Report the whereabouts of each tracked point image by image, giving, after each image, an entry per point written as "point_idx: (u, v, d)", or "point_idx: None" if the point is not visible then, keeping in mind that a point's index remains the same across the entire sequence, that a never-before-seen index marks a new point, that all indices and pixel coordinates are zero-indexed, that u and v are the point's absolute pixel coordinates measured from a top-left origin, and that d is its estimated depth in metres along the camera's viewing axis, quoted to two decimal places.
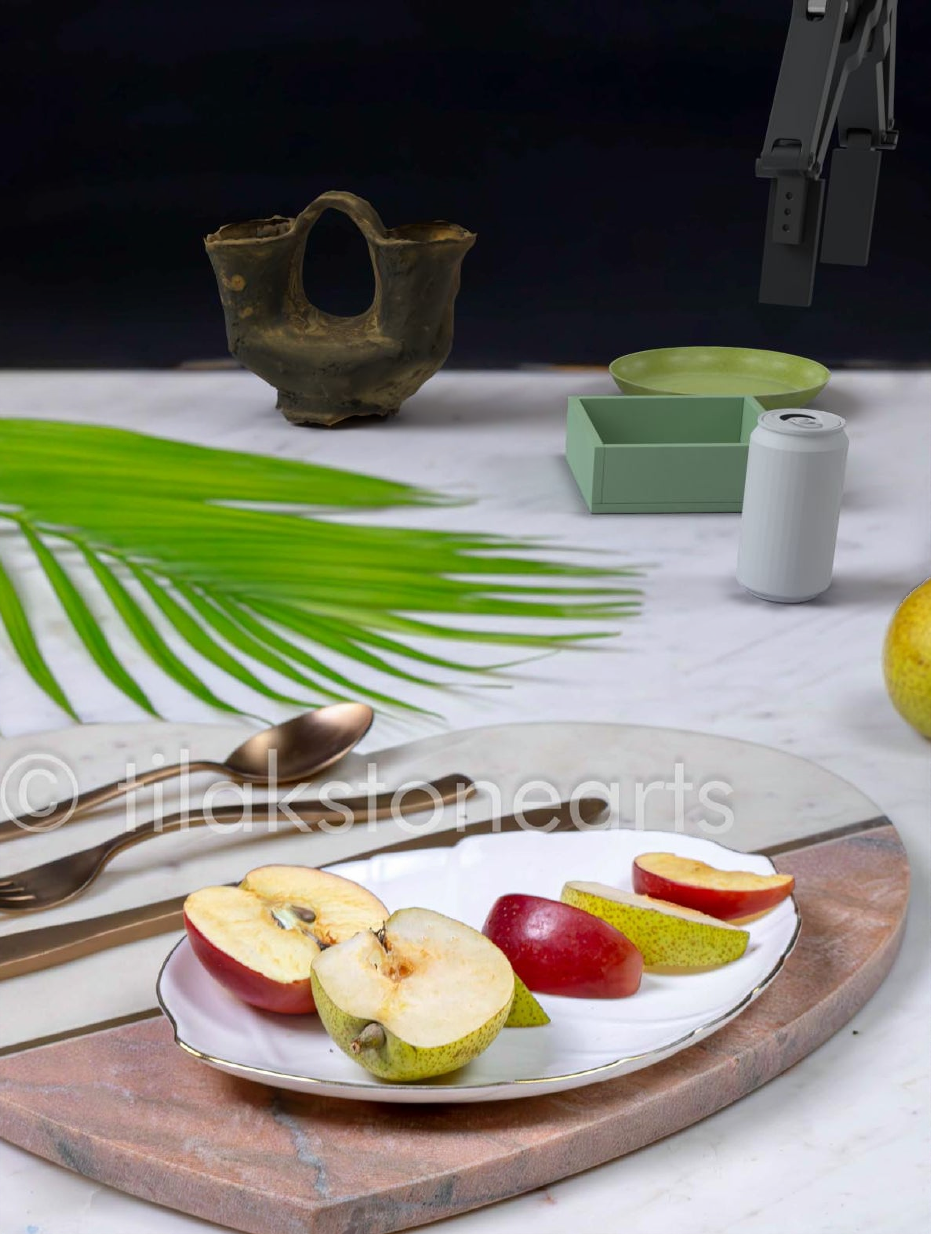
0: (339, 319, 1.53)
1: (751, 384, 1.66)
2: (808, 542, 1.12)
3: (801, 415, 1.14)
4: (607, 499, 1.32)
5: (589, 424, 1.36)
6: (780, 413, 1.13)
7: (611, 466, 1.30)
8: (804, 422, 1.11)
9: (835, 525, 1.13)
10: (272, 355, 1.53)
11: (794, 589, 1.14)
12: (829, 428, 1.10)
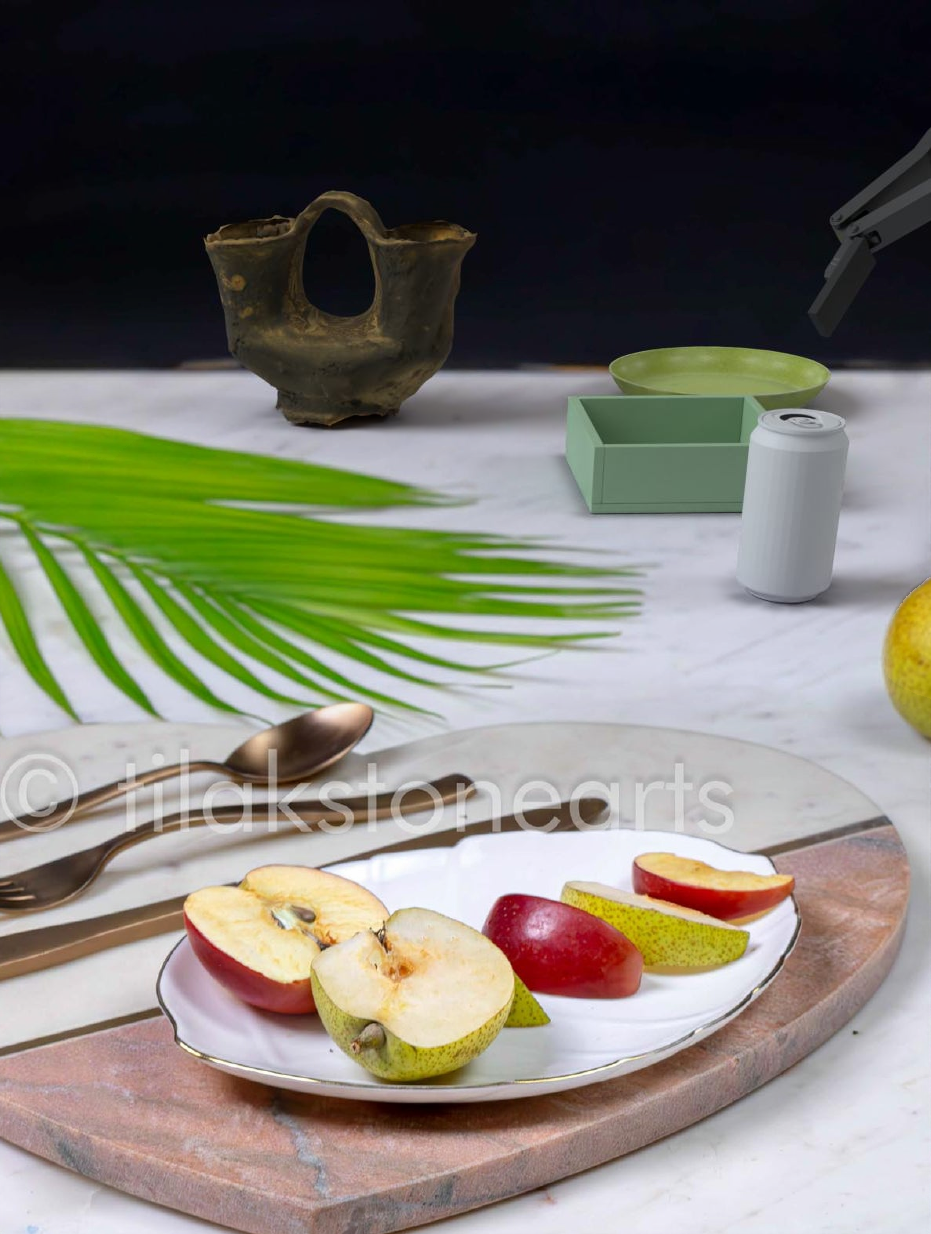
0: (339, 319, 1.53)
1: (751, 384, 1.66)
2: (808, 542, 1.12)
3: (801, 415, 1.14)
4: (607, 499, 1.32)
5: (589, 424, 1.36)
6: (780, 413, 1.13)
7: (611, 466, 1.30)
8: (804, 422, 1.11)
9: (835, 525, 1.13)
10: (272, 355, 1.53)
11: (794, 589, 1.14)
12: (829, 428, 1.10)
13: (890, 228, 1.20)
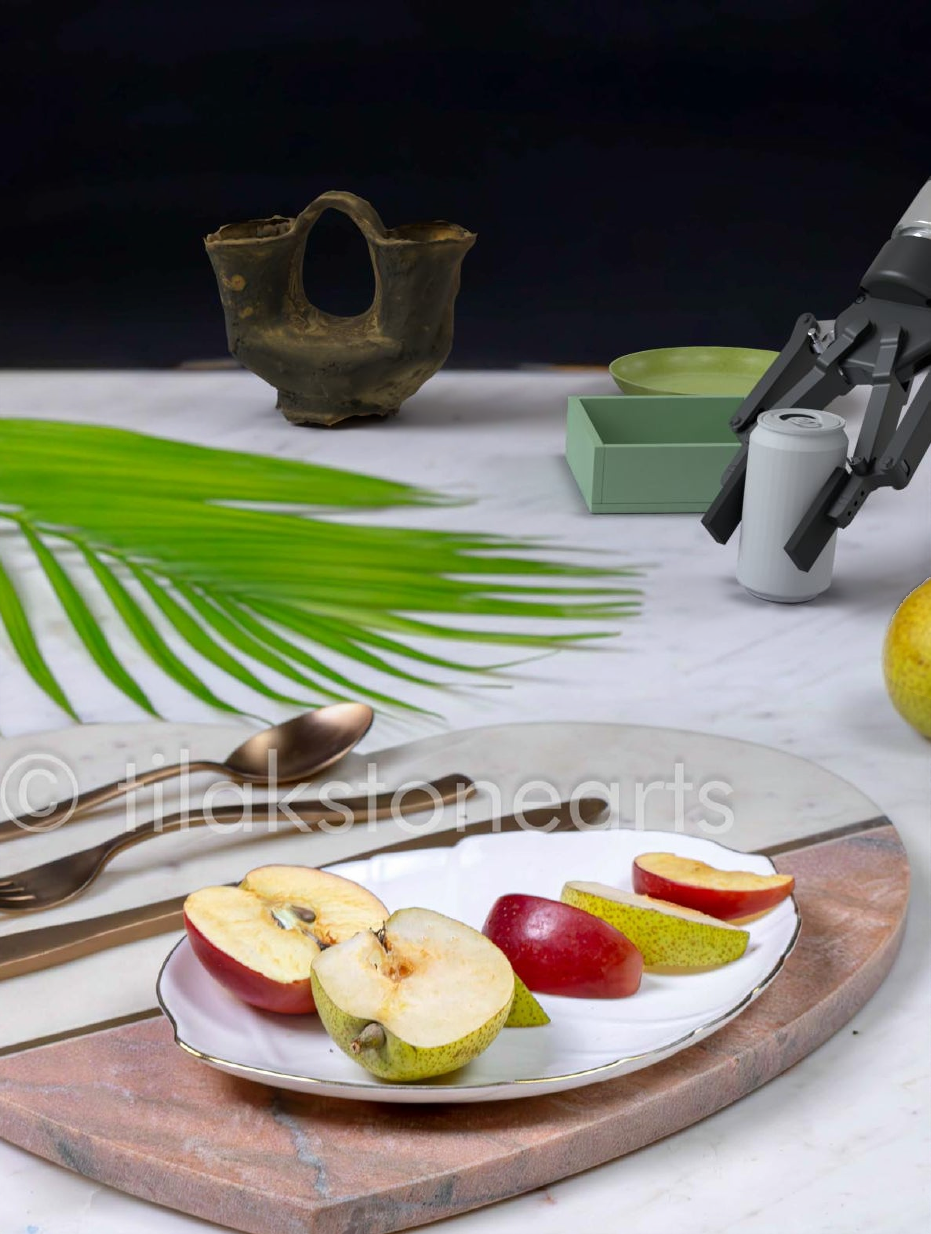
0: (339, 319, 1.53)
1: (751, 384, 1.66)
2: None
3: (801, 415, 1.14)
4: (607, 499, 1.32)
5: (589, 424, 1.36)
6: (779, 413, 1.13)
7: (611, 466, 1.30)
8: (804, 422, 1.11)
9: None
10: (272, 355, 1.53)
11: (794, 588, 1.14)
12: (829, 428, 1.10)
13: None
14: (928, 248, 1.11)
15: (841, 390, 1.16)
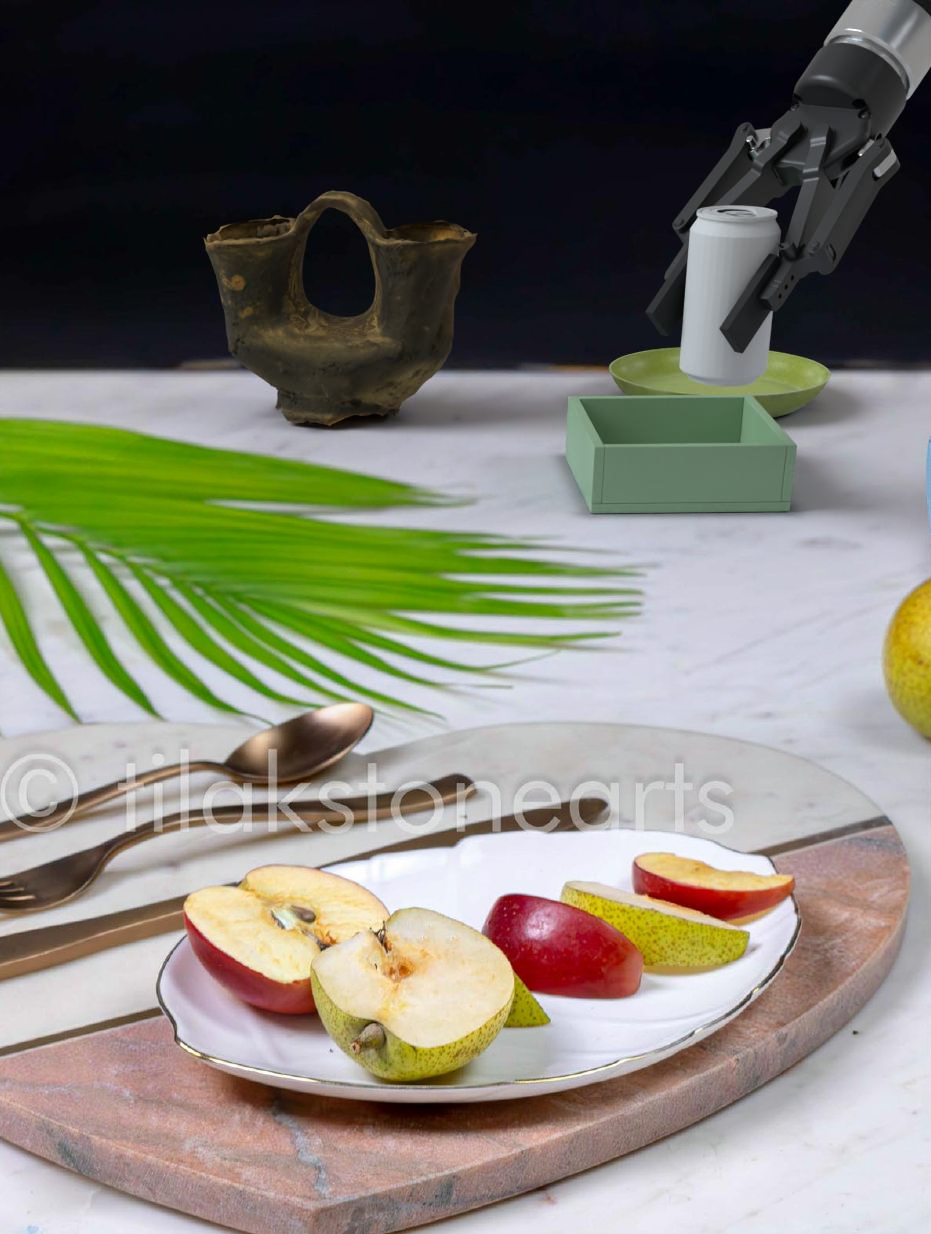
0: (339, 319, 1.53)
1: (751, 384, 1.66)
2: None
3: None
4: (607, 499, 1.32)
5: (589, 424, 1.36)
6: (718, 209, 1.22)
7: (611, 466, 1.30)
8: (739, 213, 1.20)
9: None
10: (272, 355, 1.53)
11: (731, 372, 1.23)
12: (761, 216, 1.19)
13: None
14: (854, 52, 1.20)
15: (776, 192, 1.25)
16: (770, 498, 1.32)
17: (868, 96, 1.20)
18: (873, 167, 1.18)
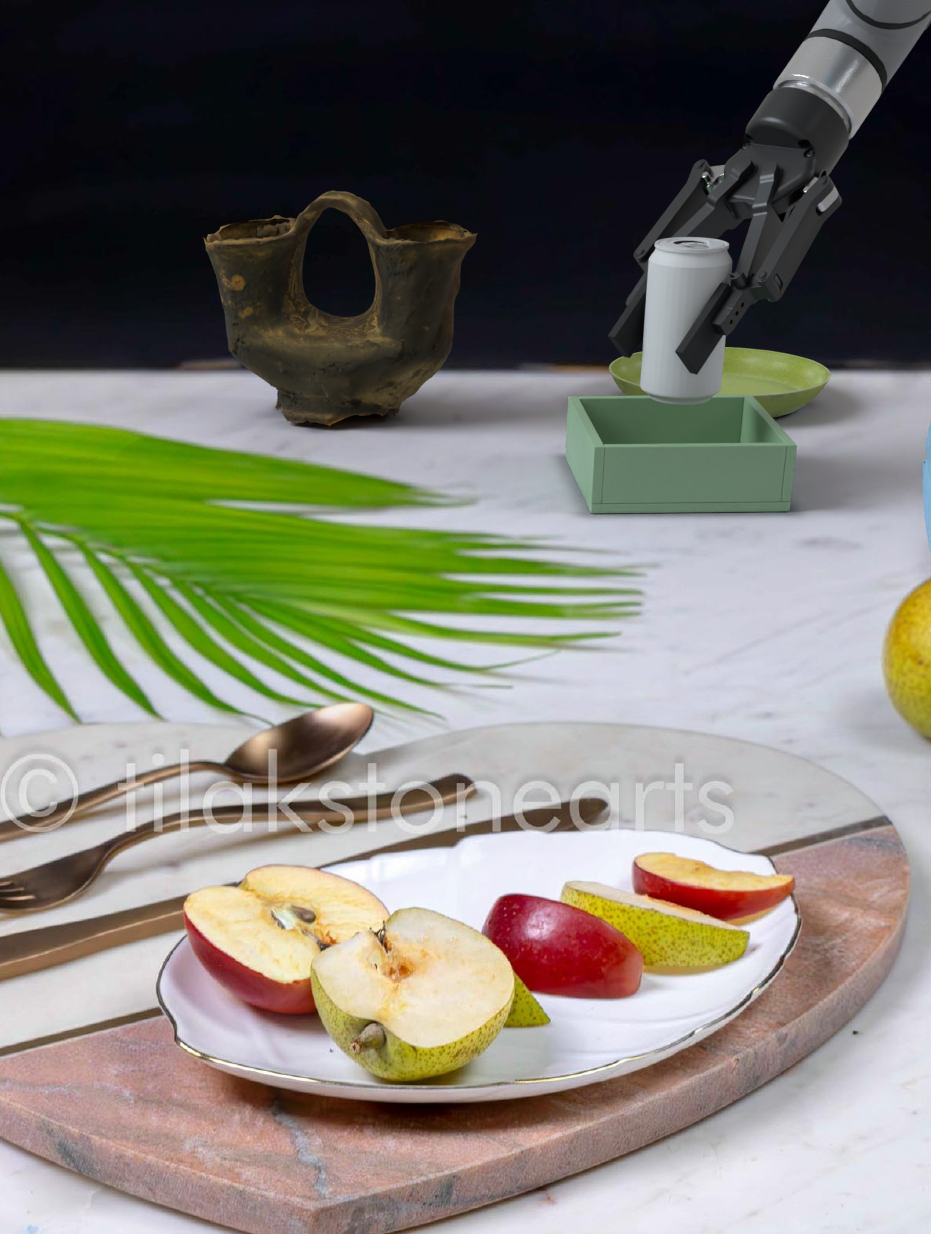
0: (339, 319, 1.53)
1: (751, 384, 1.66)
2: None
3: None
4: (607, 499, 1.32)
5: (589, 424, 1.36)
6: (674, 240, 1.32)
7: (611, 466, 1.30)
8: (694, 245, 1.30)
9: None
10: (272, 355, 1.53)
11: (687, 391, 1.33)
12: (714, 248, 1.29)
13: None
14: (800, 96, 1.30)
15: (729, 224, 1.35)
16: (770, 498, 1.32)
17: (812, 137, 1.30)
18: (816, 203, 1.28)
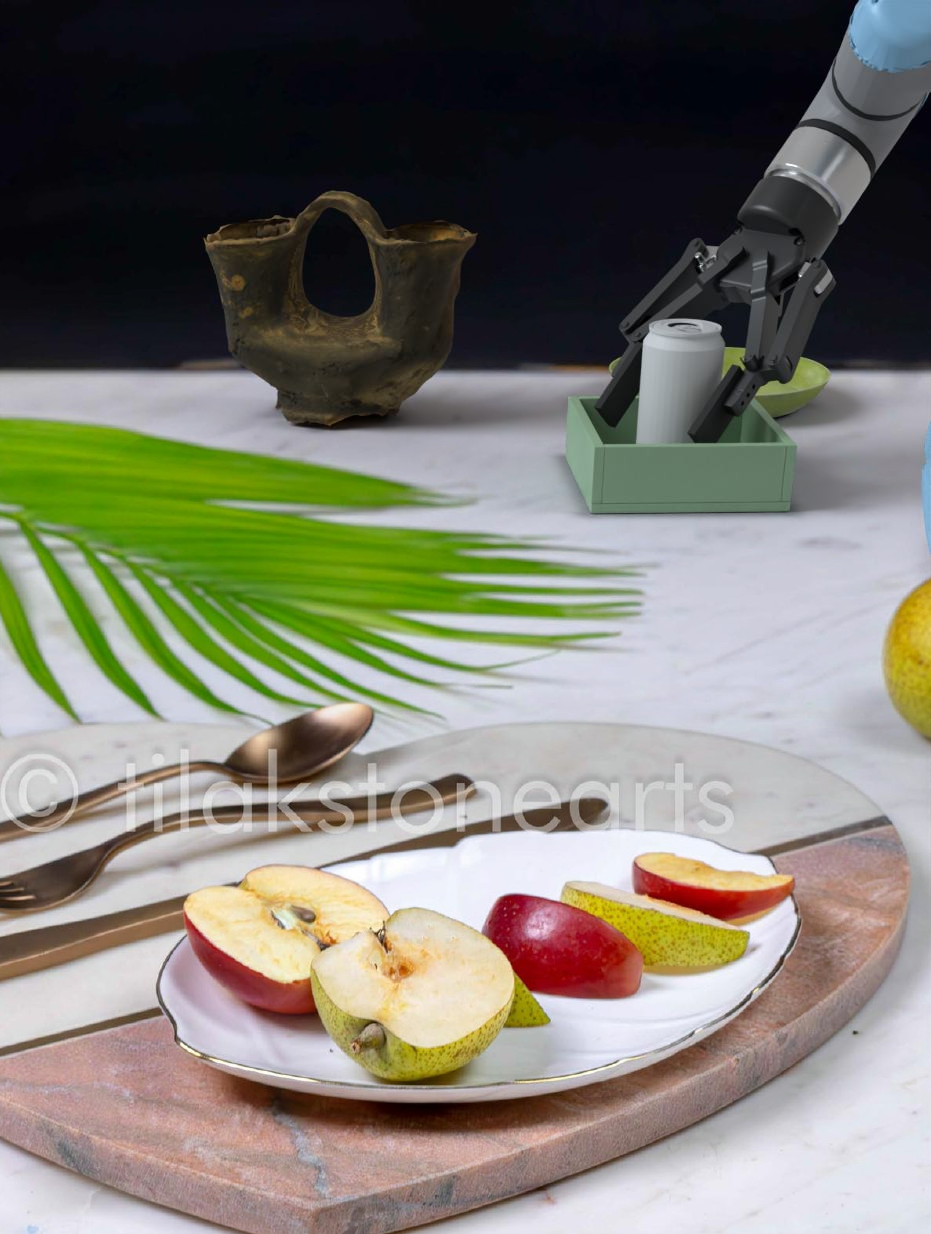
0: (339, 319, 1.53)
1: None
2: None
3: (687, 324, 1.36)
4: (607, 499, 1.32)
5: (589, 424, 1.36)
6: (668, 322, 1.35)
7: (611, 466, 1.30)
8: (687, 328, 1.33)
9: None
10: (272, 355, 1.53)
11: None
12: (707, 332, 1.32)
13: None
14: (790, 186, 1.33)
15: (717, 305, 1.38)
16: (770, 498, 1.32)
17: (802, 225, 1.33)
18: (814, 285, 1.31)
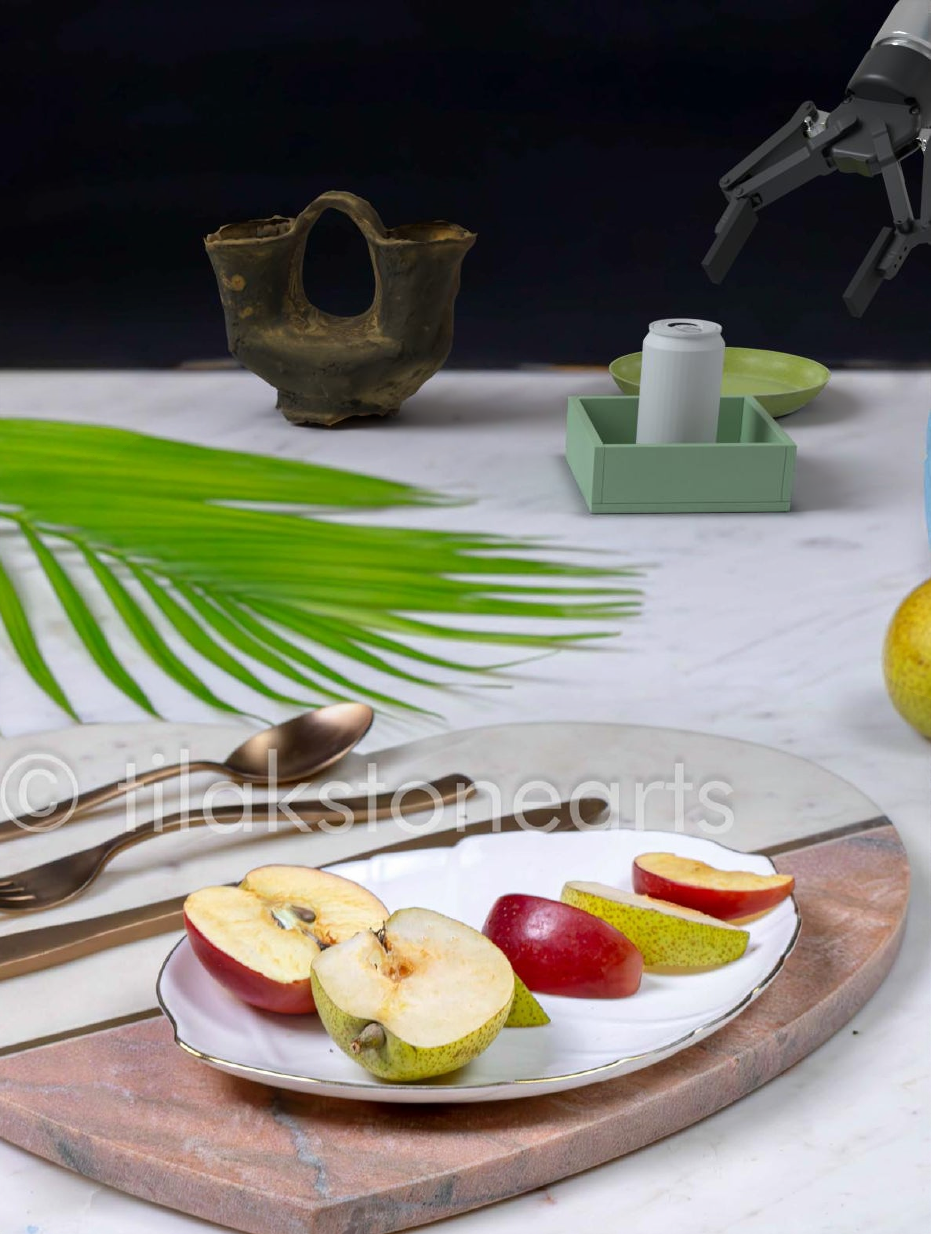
0: (339, 319, 1.53)
1: (751, 384, 1.66)
2: (691, 429, 1.34)
3: (687, 324, 1.36)
4: (607, 499, 1.32)
5: (589, 424, 1.36)
6: (668, 322, 1.35)
7: (611, 466, 1.30)
8: (687, 328, 1.33)
9: (715, 415, 1.35)
10: (272, 355, 1.53)
11: None
12: (707, 332, 1.32)
13: (769, 190, 1.42)
14: (906, 54, 1.35)
15: (822, 171, 1.41)
16: (770, 498, 1.32)
17: (918, 94, 1.35)
18: None
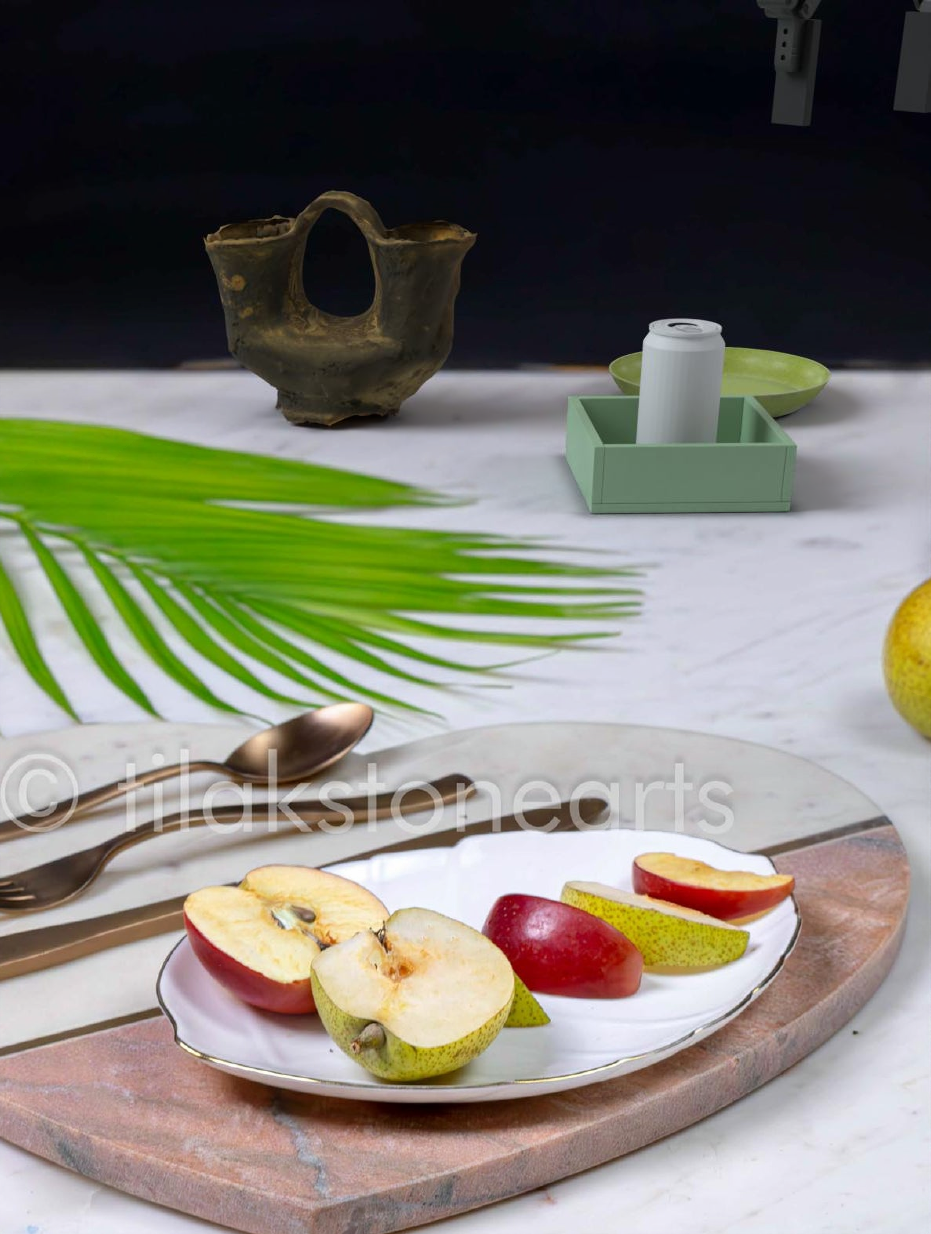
0: (339, 319, 1.53)
1: (751, 384, 1.66)
2: (691, 429, 1.34)
3: (687, 324, 1.36)
4: (607, 499, 1.32)
5: (589, 424, 1.36)
6: (668, 322, 1.35)
7: (611, 466, 1.30)
8: (687, 328, 1.33)
9: (715, 415, 1.35)
10: (272, 355, 1.53)
11: None
12: (707, 332, 1.32)
13: None
14: None
15: None
16: (770, 498, 1.32)
17: None
18: None
